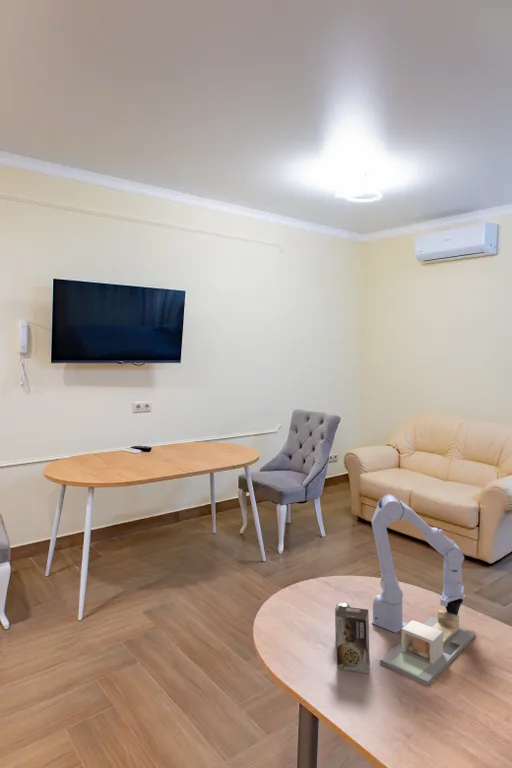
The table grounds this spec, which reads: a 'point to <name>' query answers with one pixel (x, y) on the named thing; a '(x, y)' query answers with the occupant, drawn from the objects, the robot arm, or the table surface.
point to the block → (421, 645)
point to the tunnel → (423, 638)
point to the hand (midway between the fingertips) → (452, 619)
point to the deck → (420, 665)
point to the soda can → (336, 612)
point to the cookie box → (352, 639)
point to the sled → (442, 629)
